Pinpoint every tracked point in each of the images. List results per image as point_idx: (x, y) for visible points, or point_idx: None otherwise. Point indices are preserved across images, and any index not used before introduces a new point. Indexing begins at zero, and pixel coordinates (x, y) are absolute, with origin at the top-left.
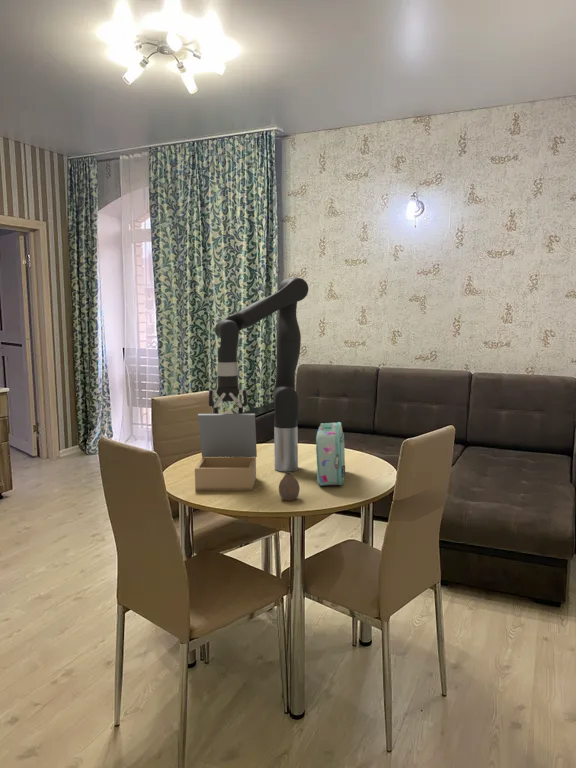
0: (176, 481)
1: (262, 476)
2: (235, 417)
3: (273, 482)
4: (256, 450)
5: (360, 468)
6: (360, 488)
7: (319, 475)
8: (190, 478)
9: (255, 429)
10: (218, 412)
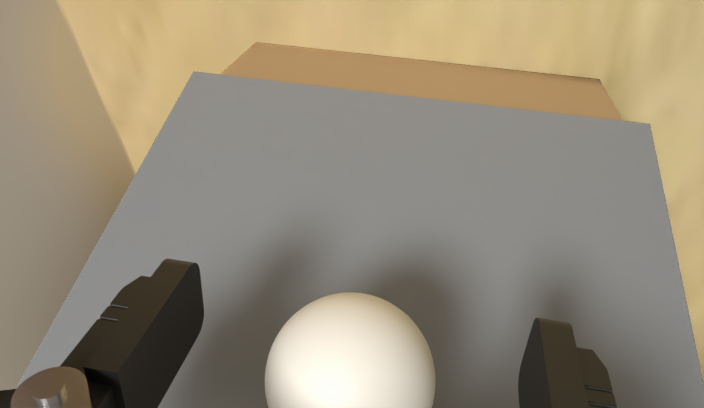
0: (123, 90)
1: (654, 41)
2: None
3: (690, 181)
4: (655, 170)
5: None
6: None
7: None
8: (181, 37)
9: (697, 385)
10: (166, 311)
